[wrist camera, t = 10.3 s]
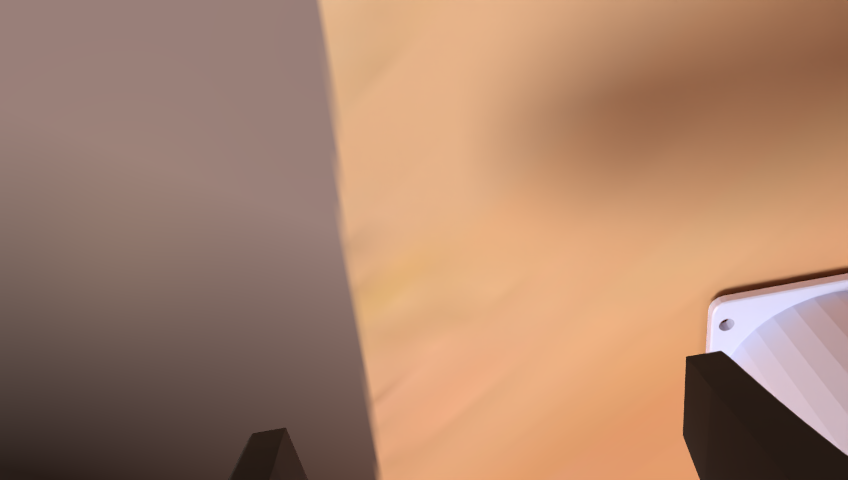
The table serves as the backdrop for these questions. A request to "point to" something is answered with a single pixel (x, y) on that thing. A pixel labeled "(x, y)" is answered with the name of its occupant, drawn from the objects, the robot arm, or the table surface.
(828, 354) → the robot arm
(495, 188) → the table surface
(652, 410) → the table surface
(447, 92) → the table surface
